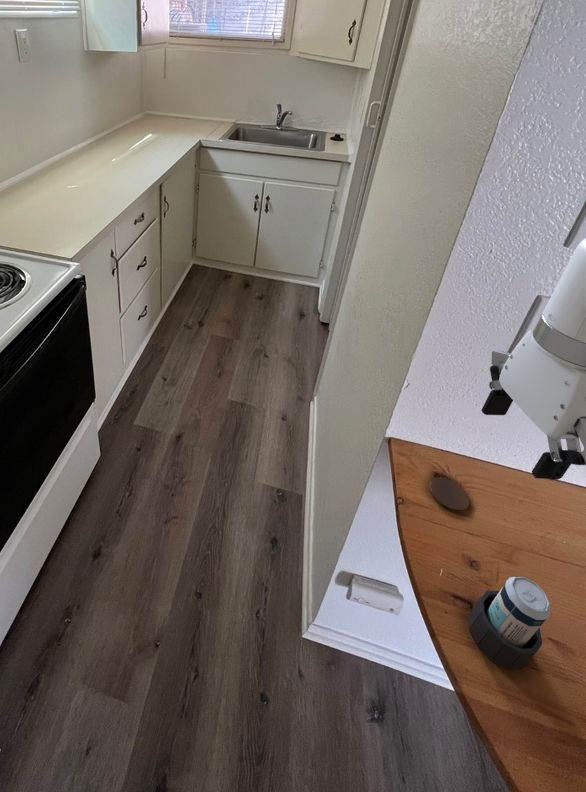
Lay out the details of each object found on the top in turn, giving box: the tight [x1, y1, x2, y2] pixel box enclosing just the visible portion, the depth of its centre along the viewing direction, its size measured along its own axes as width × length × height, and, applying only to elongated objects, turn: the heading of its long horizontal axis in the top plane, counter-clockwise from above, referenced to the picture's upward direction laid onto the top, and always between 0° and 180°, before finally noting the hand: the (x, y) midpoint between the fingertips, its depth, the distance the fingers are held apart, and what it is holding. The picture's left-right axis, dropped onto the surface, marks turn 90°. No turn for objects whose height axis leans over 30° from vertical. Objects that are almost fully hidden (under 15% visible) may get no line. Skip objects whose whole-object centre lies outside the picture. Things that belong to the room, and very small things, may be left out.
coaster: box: [428, 476, 470, 513], centre depth 80 cm, size 6×6×1 cm
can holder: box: [467, 590, 543, 671], centre depth 60 cm, size 7×7×5 cm
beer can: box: [485, 576, 551, 648], centre depth 58 cm, size 5×5×12 cm
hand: (516, 442), depth 57 cm, fingers open, 9 cm apart
